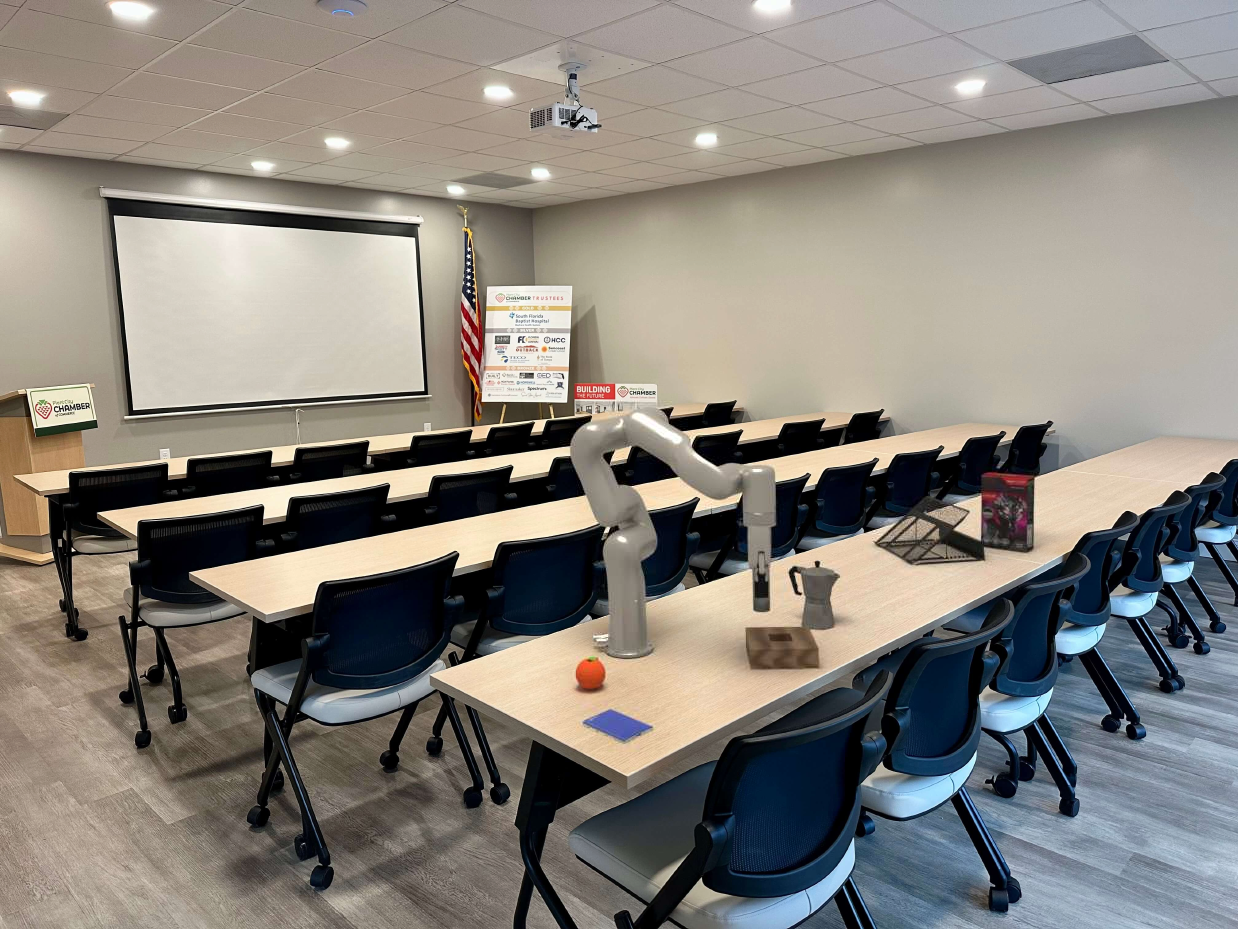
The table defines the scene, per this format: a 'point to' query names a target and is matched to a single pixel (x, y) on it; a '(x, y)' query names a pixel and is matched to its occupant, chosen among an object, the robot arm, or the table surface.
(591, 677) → the clementine
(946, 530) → the portable electronic device stand
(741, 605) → the table surface
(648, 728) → the hard drive
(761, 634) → the socket block
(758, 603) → the peg
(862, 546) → the table surface
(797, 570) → the coffeepot
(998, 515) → the graphics card box
